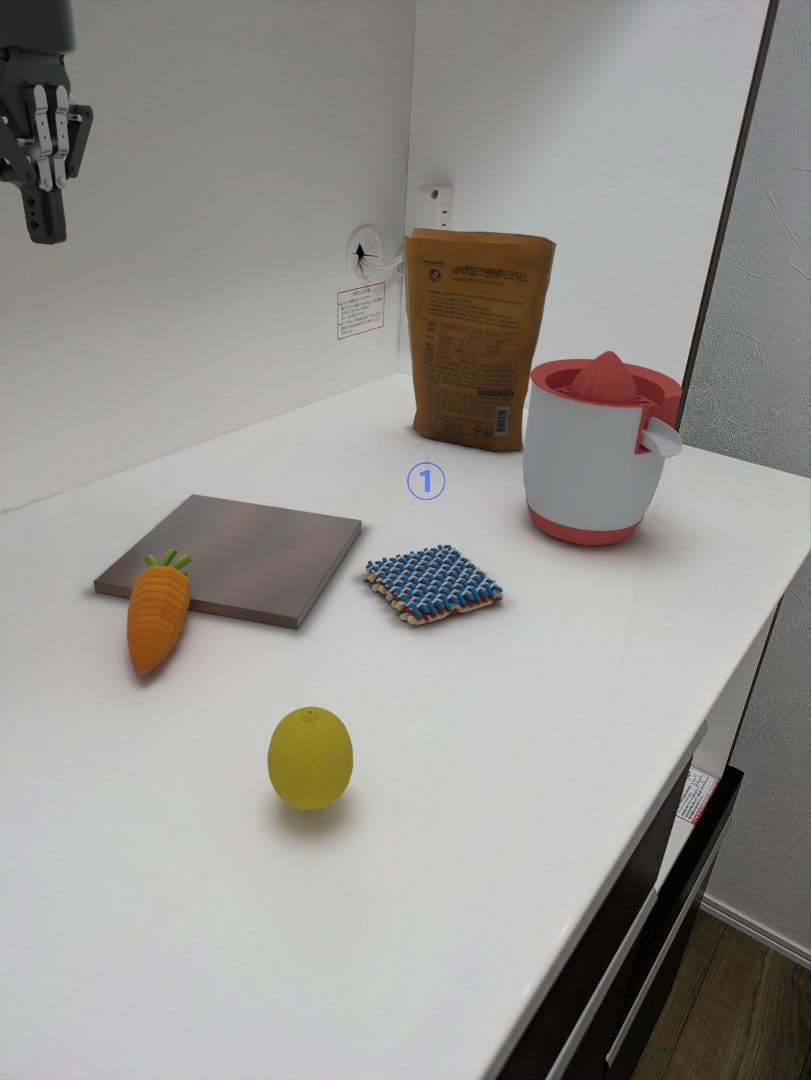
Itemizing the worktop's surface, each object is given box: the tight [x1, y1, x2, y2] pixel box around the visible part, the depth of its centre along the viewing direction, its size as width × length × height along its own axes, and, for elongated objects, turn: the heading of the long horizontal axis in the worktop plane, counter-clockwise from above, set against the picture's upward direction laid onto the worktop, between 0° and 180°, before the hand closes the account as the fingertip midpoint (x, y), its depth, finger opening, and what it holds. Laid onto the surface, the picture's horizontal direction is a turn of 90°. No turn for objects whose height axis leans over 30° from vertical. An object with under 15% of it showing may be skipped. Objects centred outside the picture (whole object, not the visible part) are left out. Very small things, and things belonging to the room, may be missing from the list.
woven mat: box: [361, 543, 504, 626], centre depth 80 cm, size 10×11×2 cm
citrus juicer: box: [522, 350, 683, 547], centre depth 89 cm, size 16×17×20 cm
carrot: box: [126, 549, 191, 676], centre depth 71 cm, size 5×5×15 cm
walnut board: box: [93, 493, 363, 630], centre depth 84 cm, size 20×20×1 cm
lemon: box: [266, 706, 354, 812], centre depth 54 cm, size 6×6×8 cm
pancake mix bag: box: [401, 227, 558, 453], centre depth 109 cm, size 7×19×28 cm, turn 67°
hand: (49, 242), depth 63 cm, fingers closed
